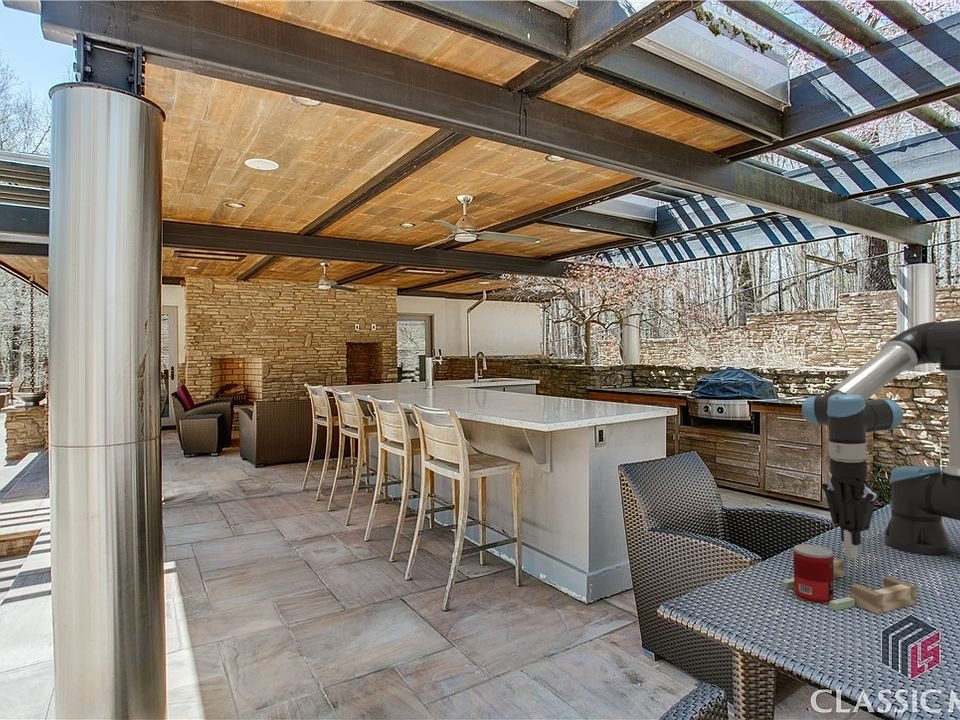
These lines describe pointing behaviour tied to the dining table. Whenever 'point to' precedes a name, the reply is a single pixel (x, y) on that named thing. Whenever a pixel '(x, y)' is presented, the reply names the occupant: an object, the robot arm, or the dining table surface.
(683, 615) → the dining table surface
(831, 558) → the canned food
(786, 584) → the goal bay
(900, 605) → the lane
